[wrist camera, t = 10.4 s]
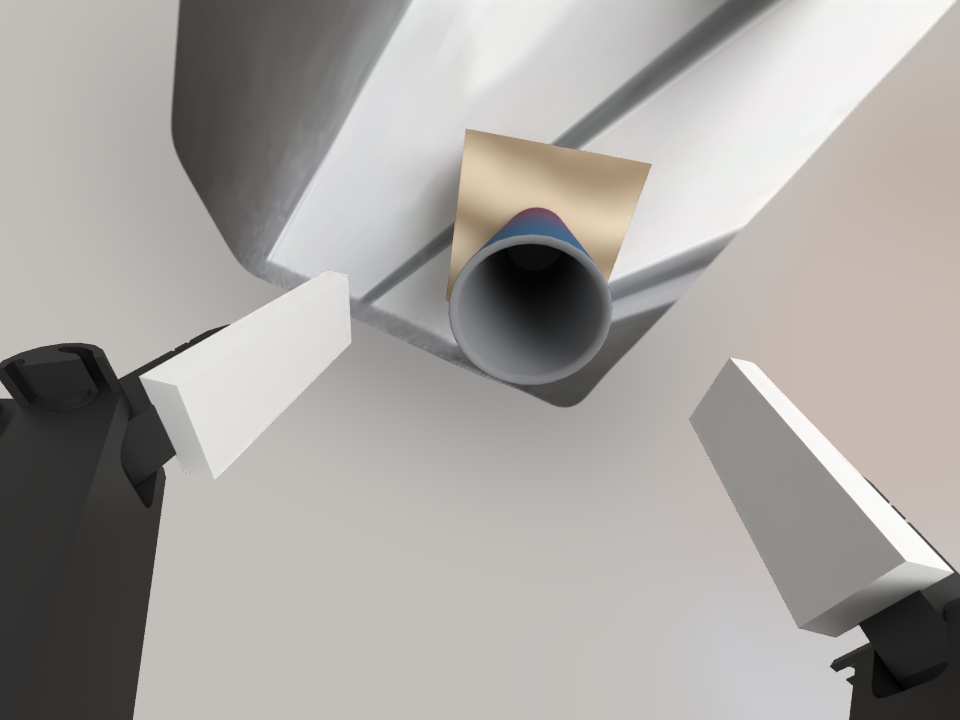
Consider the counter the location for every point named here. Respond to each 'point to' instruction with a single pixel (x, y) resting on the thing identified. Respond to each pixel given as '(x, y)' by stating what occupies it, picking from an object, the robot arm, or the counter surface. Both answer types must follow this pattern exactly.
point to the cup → (530, 302)
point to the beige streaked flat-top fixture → (543, 194)
